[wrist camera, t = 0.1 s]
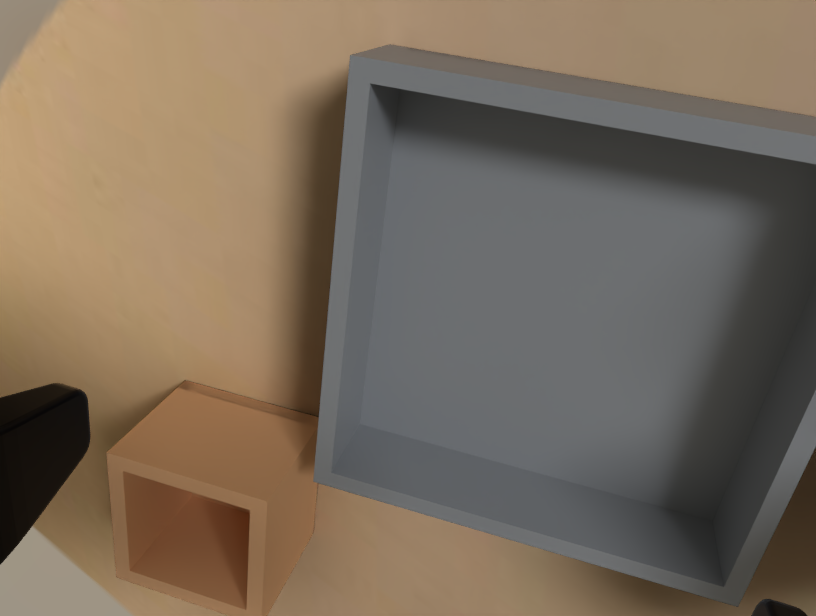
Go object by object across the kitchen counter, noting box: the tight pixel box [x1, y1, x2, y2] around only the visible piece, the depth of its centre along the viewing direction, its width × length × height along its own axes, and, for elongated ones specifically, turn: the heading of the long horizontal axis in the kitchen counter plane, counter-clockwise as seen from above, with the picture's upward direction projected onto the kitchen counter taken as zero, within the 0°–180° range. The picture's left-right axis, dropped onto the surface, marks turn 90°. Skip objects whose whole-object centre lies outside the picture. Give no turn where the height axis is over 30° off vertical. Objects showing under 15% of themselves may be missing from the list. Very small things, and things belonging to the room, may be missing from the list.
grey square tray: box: [313, 45, 816, 607], centre depth 21 cm, size 14×14×4 cm
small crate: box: [106, 380, 319, 616], centre depth 27 cm, size 6×6×5 cm
